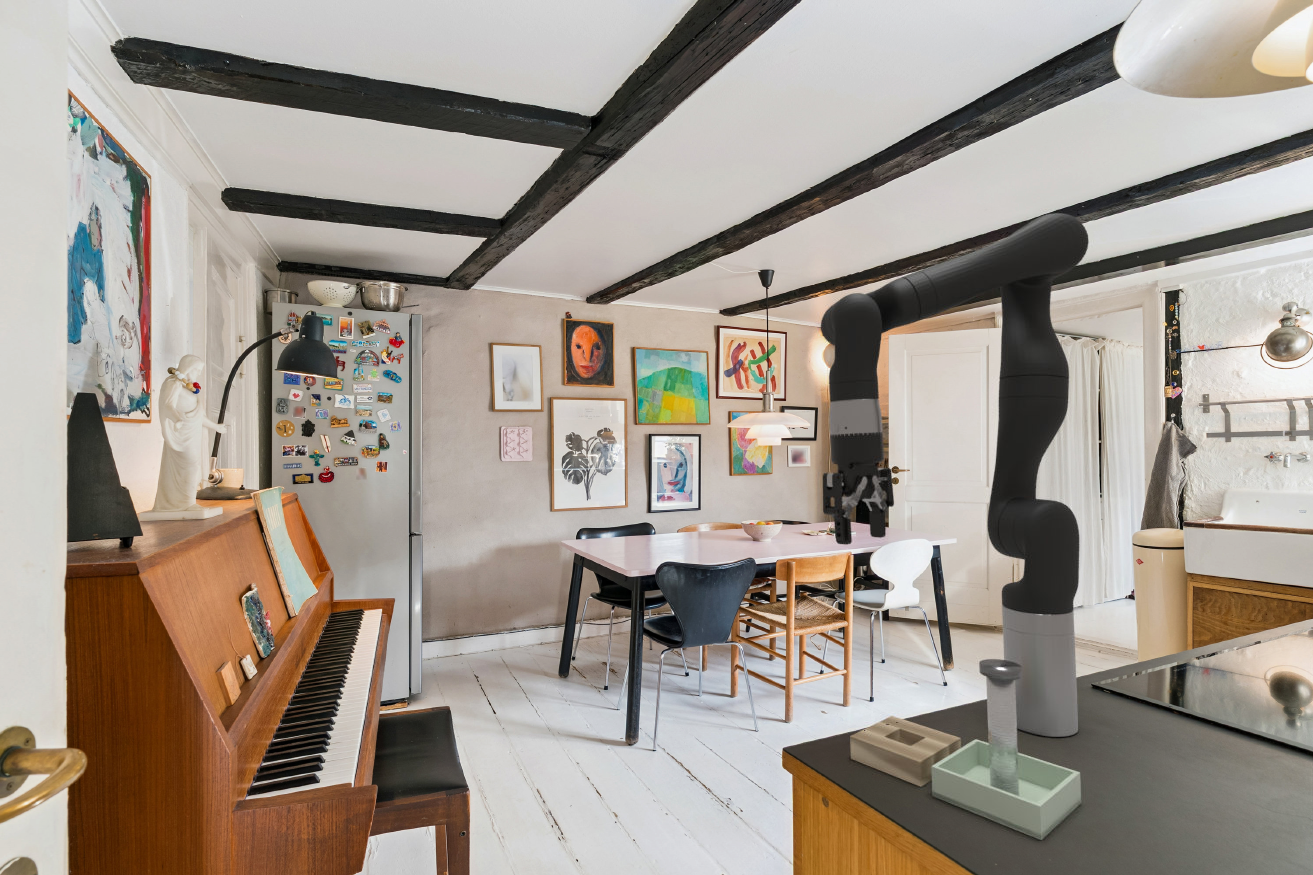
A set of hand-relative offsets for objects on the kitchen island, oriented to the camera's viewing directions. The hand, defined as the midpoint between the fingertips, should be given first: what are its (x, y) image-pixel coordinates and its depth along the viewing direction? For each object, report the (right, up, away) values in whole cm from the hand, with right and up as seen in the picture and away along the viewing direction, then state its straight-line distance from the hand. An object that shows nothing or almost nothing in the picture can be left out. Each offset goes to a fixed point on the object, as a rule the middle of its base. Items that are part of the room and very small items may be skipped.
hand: (861, 540), depth 99 cm
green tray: (+10, -27, -21) cm, 36 cm away
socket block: (+3, -27, -11) cm, 30 cm away
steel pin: (+10, -26, -21) cm, 35 cm away
